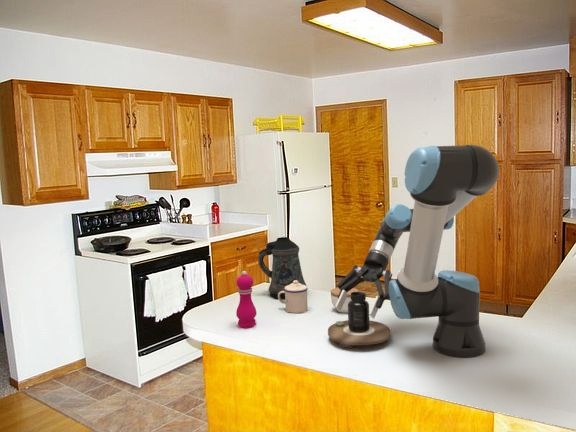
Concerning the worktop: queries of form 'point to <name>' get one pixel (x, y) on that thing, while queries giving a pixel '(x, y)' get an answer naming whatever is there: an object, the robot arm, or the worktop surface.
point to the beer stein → (282, 265)
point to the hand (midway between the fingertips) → (354, 312)
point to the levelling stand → (358, 334)
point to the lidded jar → (344, 309)
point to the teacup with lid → (295, 297)
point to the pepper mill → (245, 302)
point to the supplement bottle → (358, 313)
